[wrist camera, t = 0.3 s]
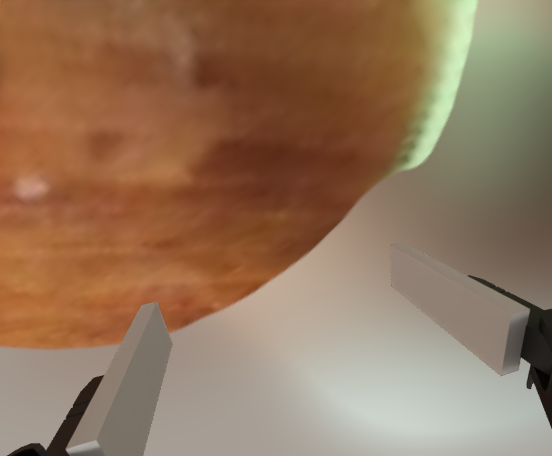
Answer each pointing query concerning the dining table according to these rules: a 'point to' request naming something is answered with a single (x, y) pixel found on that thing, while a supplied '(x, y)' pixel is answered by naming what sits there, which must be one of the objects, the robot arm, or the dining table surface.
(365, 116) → the dining table surface
